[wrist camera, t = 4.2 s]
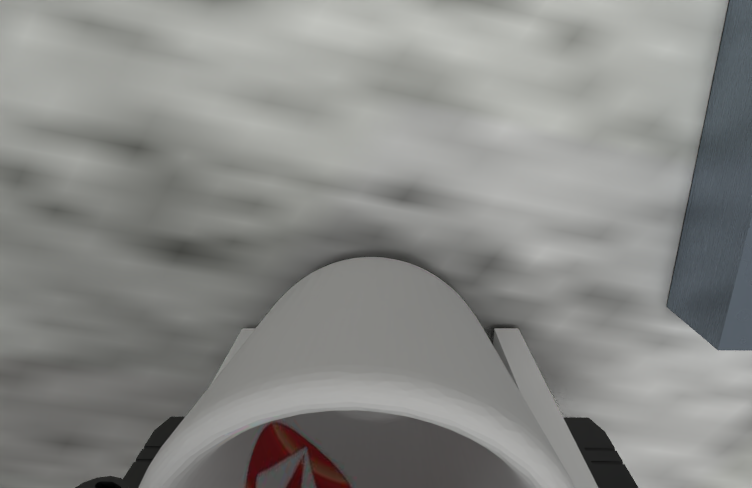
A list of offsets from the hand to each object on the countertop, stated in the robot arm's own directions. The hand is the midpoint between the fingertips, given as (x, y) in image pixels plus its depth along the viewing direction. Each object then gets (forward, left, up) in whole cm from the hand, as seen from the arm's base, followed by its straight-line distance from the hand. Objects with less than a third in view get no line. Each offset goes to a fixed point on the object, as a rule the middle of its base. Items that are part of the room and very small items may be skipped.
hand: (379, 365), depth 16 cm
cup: (+1, 0, 0) cm, 1 cm away
